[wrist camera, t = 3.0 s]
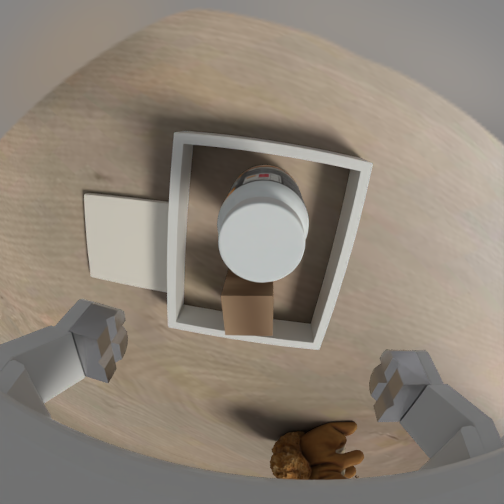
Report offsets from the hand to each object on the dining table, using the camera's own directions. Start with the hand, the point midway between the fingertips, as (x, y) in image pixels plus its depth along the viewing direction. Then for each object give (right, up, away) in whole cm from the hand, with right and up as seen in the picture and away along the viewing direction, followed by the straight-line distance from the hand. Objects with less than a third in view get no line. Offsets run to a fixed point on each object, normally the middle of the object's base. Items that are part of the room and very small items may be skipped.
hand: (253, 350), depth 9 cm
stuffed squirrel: (+9, -25, +31) cm, 41 cm away
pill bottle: (+1, +8, +16) cm, 18 cm away
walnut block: (0, 0, +20) cm, 20 cm away
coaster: (-12, +4, +19) cm, 23 cm away
